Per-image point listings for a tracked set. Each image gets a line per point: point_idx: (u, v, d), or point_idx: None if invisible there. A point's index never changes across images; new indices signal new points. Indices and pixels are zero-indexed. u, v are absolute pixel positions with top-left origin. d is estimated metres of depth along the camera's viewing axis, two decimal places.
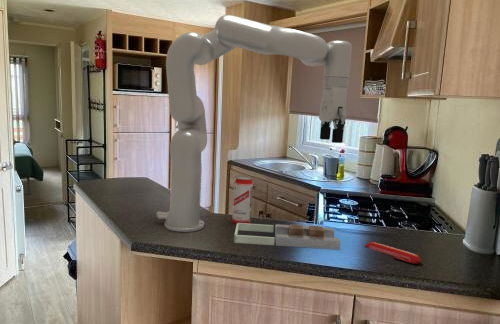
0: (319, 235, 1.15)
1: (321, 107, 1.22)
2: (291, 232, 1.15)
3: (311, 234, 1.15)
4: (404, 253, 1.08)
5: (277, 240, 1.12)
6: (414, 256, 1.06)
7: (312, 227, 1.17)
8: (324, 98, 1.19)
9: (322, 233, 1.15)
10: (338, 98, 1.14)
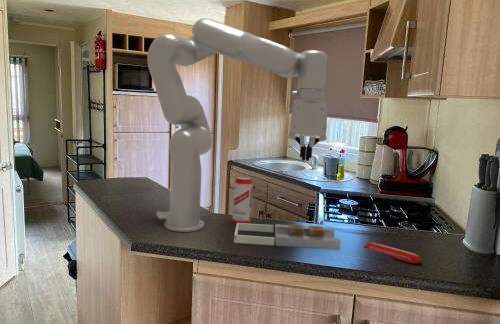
0: (319, 235, 1.15)
1: (298, 121, 1.10)
2: (291, 232, 1.15)
3: (311, 234, 1.15)
4: (404, 253, 1.08)
5: (277, 240, 1.12)
6: (414, 256, 1.06)
7: (312, 227, 1.17)
8: (305, 111, 1.09)
9: (322, 233, 1.15)
10: None
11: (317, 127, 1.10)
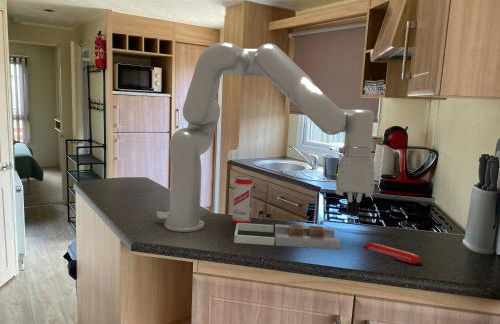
0: (319, 235, 1.15)
1: (346, 178, 1.12)
2: (291, 232, 1.15)
3: (311, 234, 1.15)
4: (404, 253, 1.07)
5: (277, 240, 1.12)
6: (414, 256, 1.06)
7: (312, 227, 1.17)
8: (353, 168, 1.11)
9: (322, 233, 1.15)
10: None
11: (365, 184, 1.12)
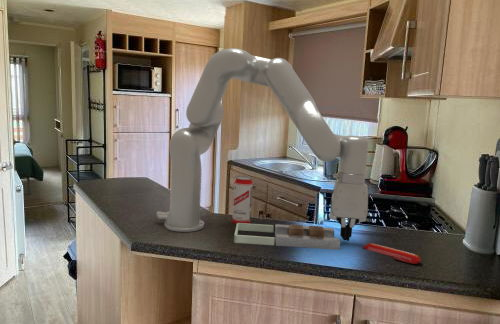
0: (319, 235, 1.15)
1: (340, 204, 1.13)
2: (291, 232, 1.15)
3: (311, 234, 1.15)
4: (404, 254, 1.07)
5: (277, 240, 1.12)
6: (415, 256, 1.06)
7: (312, 227, 1.17)
8: (347, 195, 1.12)
9: (322, 233, 1.15)
10: None
11: (358, 210, 1.13)
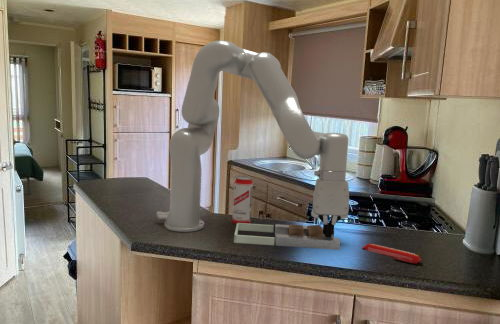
0: (317, 234, 1.15)
1: (321, 201, 1.13)
2: (291, 232, 1.15)
3: (310, 234, 1.15)
4: (405, 253, 1.07)
5: (277, 240, 1.12)
6: (415, 256, 1.06)
7: (310, 227, 1.17)
8: (328, 192, 1.12)
9: (320, 231, 1.15)
10: None
11: (339, 207, 1.13)
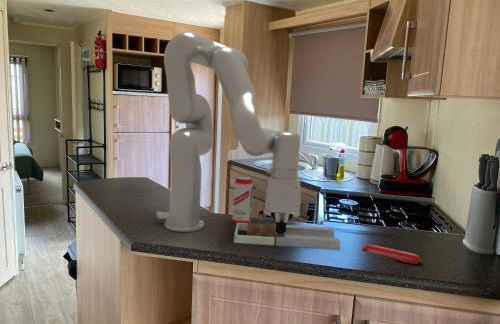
0: (269, 233, 1.16)
1: (273, 199, 1.13)
2: (248, 231, 1.15)
3: (261, 232, 1.16)
4: (405, 254, 1.07)
5: (277, 240, 1.12)
6: (416, 256, 1.06)
7: (263, 225, 1.18)
8: (279, 190, 1.13)
9: (272, 231, 1.15)
10: (300, 189, 1.15)
11: (291, 205, 1.13)
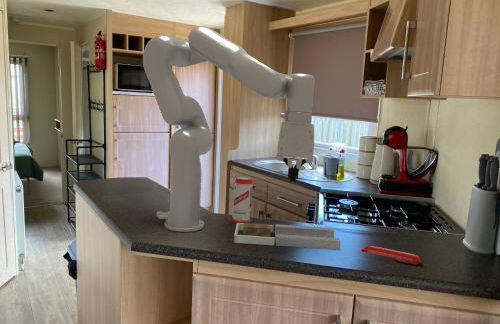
0: (265, 233, 1.16)
1: (286, 143, 1.11)
2: (244, 230, 1.15)
3: (257, 232, 1.16)
4: (405, 255, 1.07)
5: (277, 240, 1.12)
6: (416, 257, 1.06)
7: (259, 225, 1.18)
8: (293, 133, 1.10)
9: (268, 231, 1.15)
10: None
11: (304, 149, 1.11)
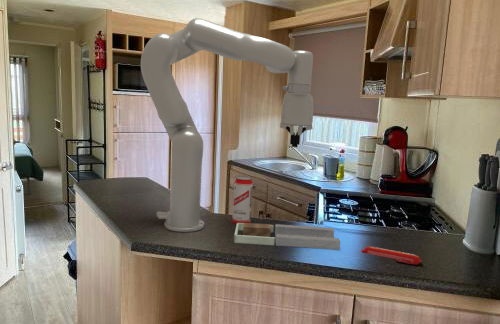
0: (265, 233, 1.16)
1: (288, 112, 1.26)
2: (244, 230, 1.15)
3: (257, 232, 1.16)
4: (406, 255, 1.06)
5: (277, 240, 1.12)
6: (416, 257, 1.06)
7: (259, 225, 1.18)
8: (294, 103, 1.25)
9: (268, 231, 1.15)
10: None
11: (304, 117, 1.26)
